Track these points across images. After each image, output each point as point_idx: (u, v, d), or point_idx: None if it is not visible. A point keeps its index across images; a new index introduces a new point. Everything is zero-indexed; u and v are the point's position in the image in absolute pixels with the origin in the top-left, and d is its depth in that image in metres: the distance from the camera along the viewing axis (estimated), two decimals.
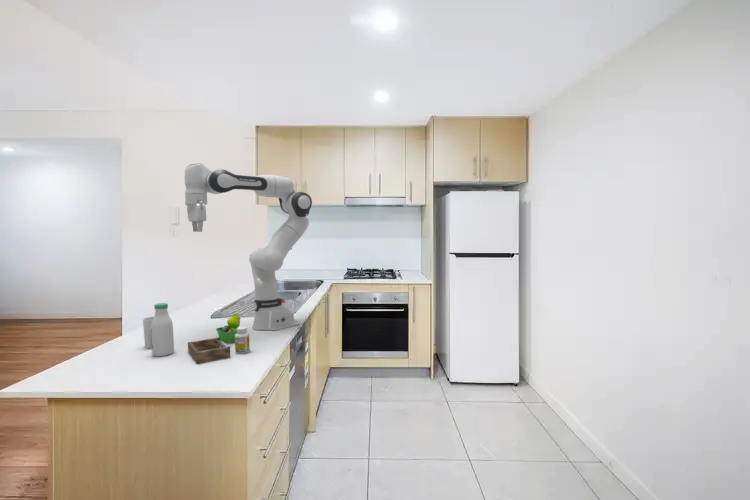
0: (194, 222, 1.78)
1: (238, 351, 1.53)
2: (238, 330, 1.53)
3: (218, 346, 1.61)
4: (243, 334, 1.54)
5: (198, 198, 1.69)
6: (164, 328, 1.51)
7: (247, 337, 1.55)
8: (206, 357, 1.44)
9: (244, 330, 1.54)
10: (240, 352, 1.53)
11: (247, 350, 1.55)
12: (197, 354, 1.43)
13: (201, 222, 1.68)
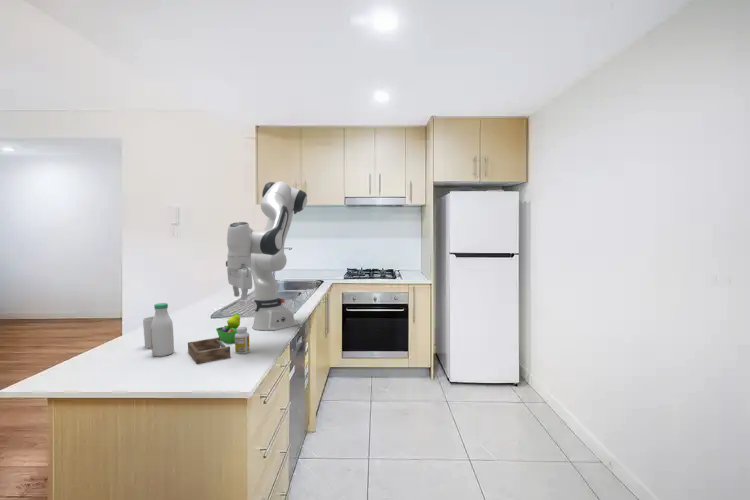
0: (235, 286, 1.58)
1: (238, 351, 1.53)
2: (238, 330, 1.53)
3: (218, 346, 1.61)
4: (243, 334, 1.54)
5: (242, 262, 1.50)
6: (164, 328, 1.51)
7: (247, 337, 1.55)
8: (206, 357, 1.44)
9: (244, 330, 1.54)
10: (240, 352, 1.53)
11: (247, 350, 1.55)
12: (197, 354, 1.43)
13: (246, 289, 1.49)
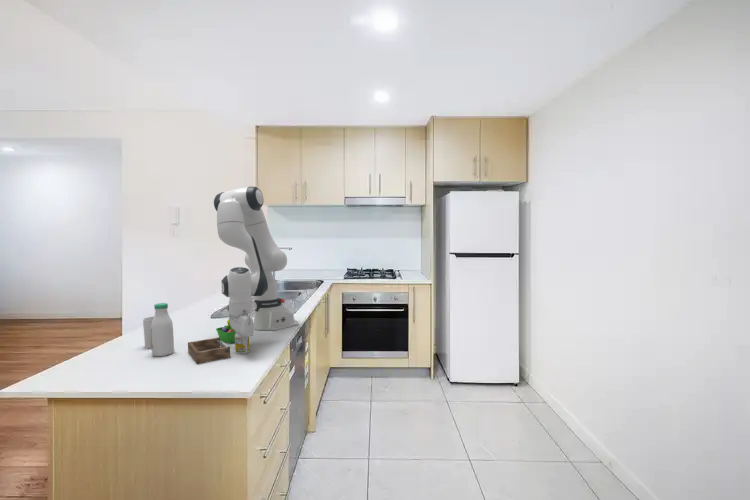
0: None
1: (238, 351, 1.53)
2: None
3: (218, 346, 1.61)
4: None
5: (244, 308, 1.51)
6: (164, 328, 1.51)
7: None
8: (206, 357, 1.44)
9: None
10: (240, 352, 1.53)
11: (247, 350, 1.55)
12: (197, 354, 1.43)
13: None
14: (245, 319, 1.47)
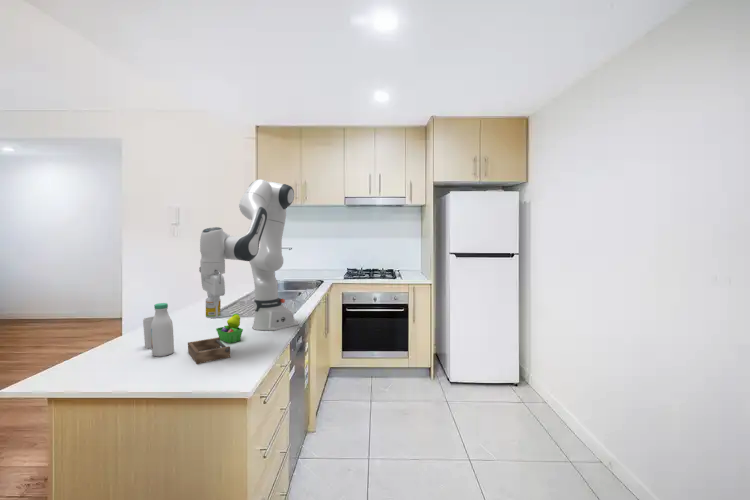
0: None
1: (208, 315, 1.50)
2: (209, 294, 1.50)
3: (218, 346, 1.61)
4: None
5: (215, 268, 1.48)
6: (164, 328, 1.51)
7: None
8: (206, 357, 1.44)
9: None
10: (210, 316, 1.50)
11: (218, 315, 1.51)
12: (197, 354, 1.43)
13: (218, 295, 1.48)
14: (216, 278, 1.44)
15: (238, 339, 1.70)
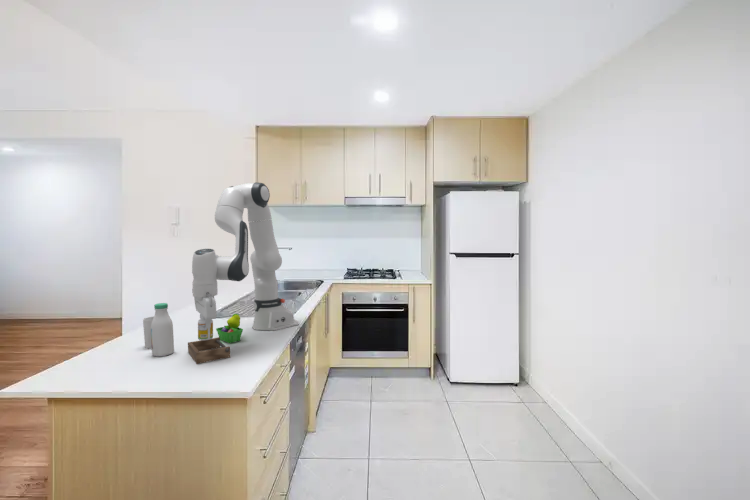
0: None
1: (200, 337, 1.49)
2: (201, 316, 1.50)
3: (218, 346, 1.61)
4: None
5: (207, 290, 1.47)
6: (164, 328, 1.51)
7: None
8: (206, 357, 1.44)
9: None
10: (202, 339, 1.49)
11: (210, 337, 1.51)
12: (197, 354, 1.43)
13: None
14: (207, 301, 1.43)
15: (238, 339, 1.70)
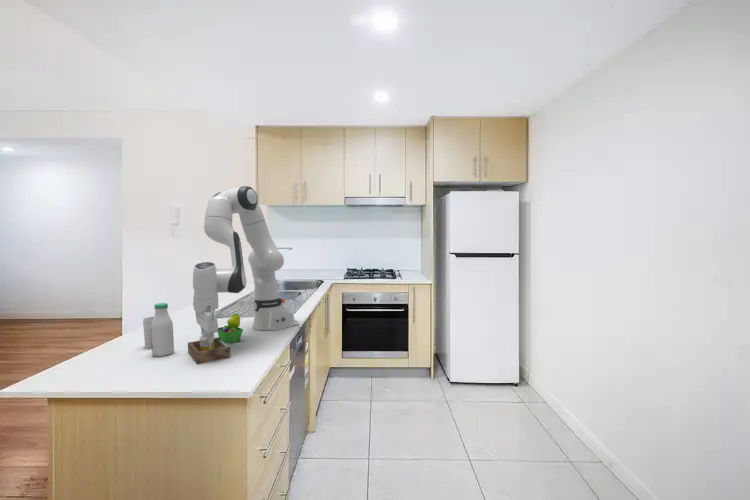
0: None
1: None
2: (202, 333, 1.50)
3: (218, 346, 1.61)
4: None
5: (208, 304, 1.48)
6: (164, 328, 1.51)
7: None
8: (206, 357, 1.44)
9: None
10: None
11: None
12: (197, 354, 1.43)
13: (212, 332, 1.47)
14: (208, 315, 1.44)
15: (238, 339, 1.70)
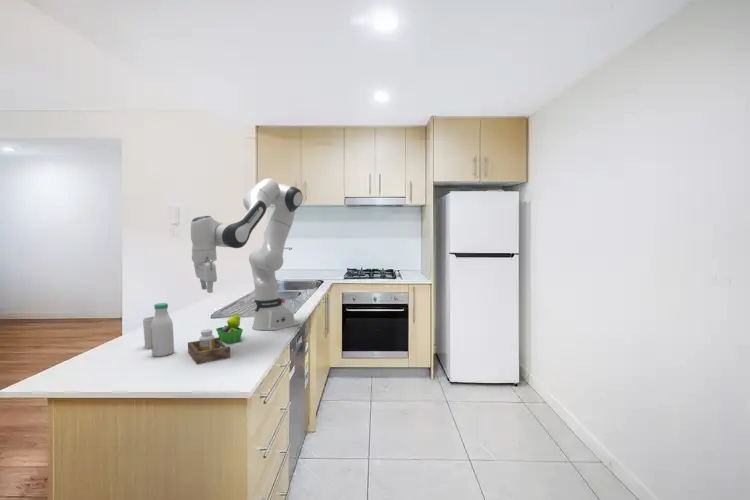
0: None
1: None
2: (202, 333, 1.50)
3: (218, 346, 1.61)
4: (207, 337, 1.50)
5: (207, 255, 1.52)
6: (164, 328, 1.51)
7: (212, 340, 1.51)
8: (206, 357, 1.44)
9: (209, 333, 1.51)
10: None
11: None
12: (197, 354, 1.43)
13: (211, 282, 1.52)
14: (207, 265, 1.48)
15: (238, 339, 1.70)
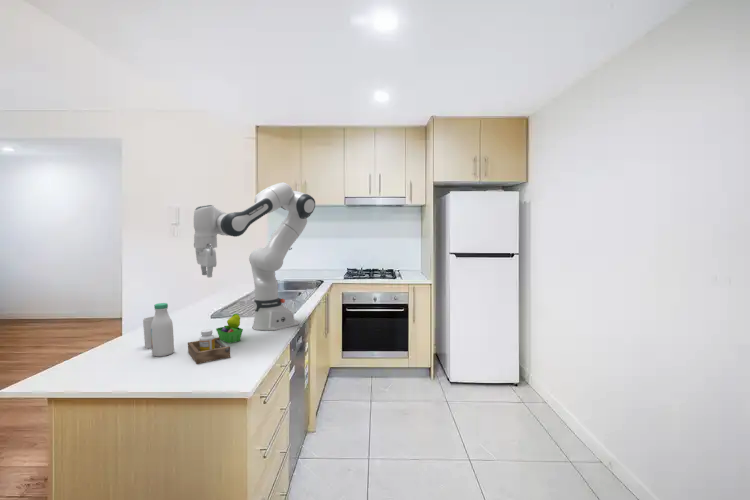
0: (203, 265, 1.69)
1: None
2: (202, 333, 1.50)
3: (218, 346, 1.61)
4: (208, 337, 1.50)
5: (208, 242, 1.61)
6: (164, 328, 1.51)
7: (212, 340, 1.51)
8: (206, 357, 1.44)
9: (209, 333, 1.51)
10: None
11: None
12: (197, 354, 1.43)
13: (211, 267, 1.60)
14: (208, 250, 1.57)
15: (238, 339, 1.70)
